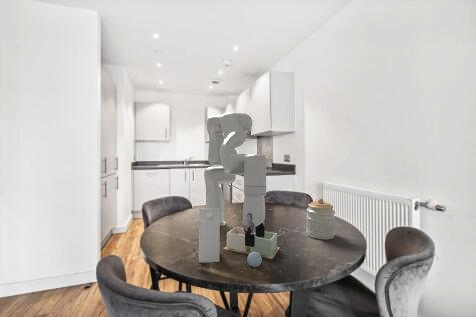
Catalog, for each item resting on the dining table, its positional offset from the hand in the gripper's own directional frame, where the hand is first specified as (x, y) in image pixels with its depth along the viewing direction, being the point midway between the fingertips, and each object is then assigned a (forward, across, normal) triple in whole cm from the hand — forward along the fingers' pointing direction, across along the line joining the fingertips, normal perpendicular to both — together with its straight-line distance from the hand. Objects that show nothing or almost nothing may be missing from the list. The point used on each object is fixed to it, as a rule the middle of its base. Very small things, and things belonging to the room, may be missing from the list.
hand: (255, 241), depth 76 cm
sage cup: (+8, -12, -1) cm, 14 cm away
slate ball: (+9, 0, 0) cm, 9 cm away
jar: (+9, -43, +17) cm, 47 cm away
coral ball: (+7, -12, -11) cm, 18 cm away
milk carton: (+9, +2, -17) cm, 19 cm away
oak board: (+9, -12, -6) cm, 16 cm away
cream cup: (+7, -12, -11) cm, 18 cm away
